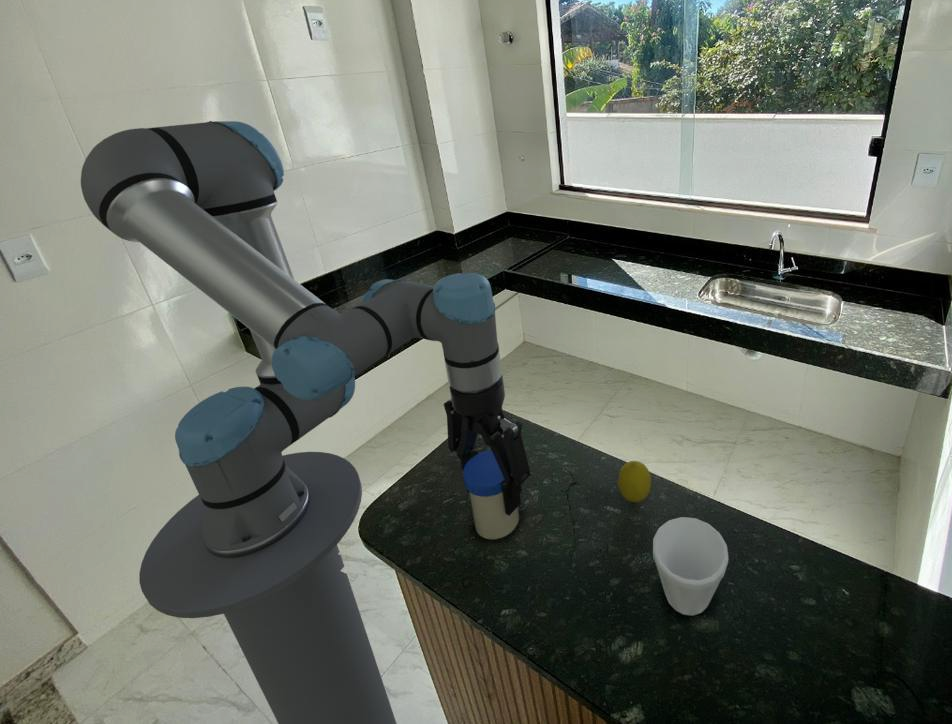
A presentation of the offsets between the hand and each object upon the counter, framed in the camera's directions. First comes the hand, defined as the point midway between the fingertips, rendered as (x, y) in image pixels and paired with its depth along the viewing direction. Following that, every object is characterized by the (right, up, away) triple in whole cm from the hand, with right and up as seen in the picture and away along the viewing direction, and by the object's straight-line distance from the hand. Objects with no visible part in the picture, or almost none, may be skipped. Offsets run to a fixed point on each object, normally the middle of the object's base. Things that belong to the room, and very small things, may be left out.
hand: (493, 497), depth 78 cm
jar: (0, -5, +2) cm, 5 cm away
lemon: (+23, -3, +5) cm, 24 cm away
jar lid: (0, +5, -2) cm, 6 cm away
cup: (+29, -9, -10) cm, 32 cm away
